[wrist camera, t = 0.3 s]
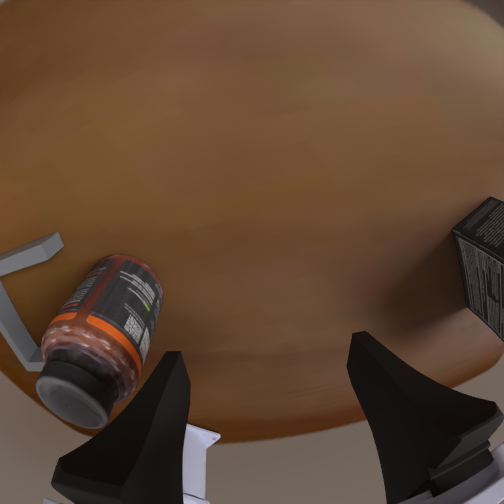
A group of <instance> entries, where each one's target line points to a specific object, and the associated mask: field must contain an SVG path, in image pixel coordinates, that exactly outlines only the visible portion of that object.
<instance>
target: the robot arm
mask: <svg viewBox="0 0 504 504" xmlns="http://www.w3.org/2000/svg"><path fill="white" fill-rule="evenodd" d="M346 367H347V370H348V374H349V377H350V380H351V384H352V387H353V389H354V391H355V393H356V396H357V398H358V400H359V402H360V405H361V407H362V409H363V411H364V414H365V416H366V418H367V420H368V423H369V425H370V428H371V430H372V433H373V437H374V440H375V444H376V447H377V451H378V455H379V459H380V464H381V469H382V473H383V479H384V485H385V491H386V499H387V504H498V503H499V502H501V501H502V500H503V499H504V442H503V443H502V444H500V445H499V446H498V447H496V448H495V449H494V450H492V451H491V452H490V451H489V450H488V448H489V447H490V442H489V441H488V439H489V438H490V436H491V435H492V434H493V433H494V432H495V431H496V430H497V428H498V427H499V426H500V425H501V423H502V421H503V419H504V415H503V413H502V412H501V410H500V409H499V407H498V406H497V404H496V403H495V402H493V401H489V400H484V399H480V398H476V397H472V396H469V395H466V394H463V393H460V392H458V391H455V390H453V389H450V388H448V387H446V386H444V385H442V384H439V383H437V382H436V381H434V380H432V379H430V378H428V377H427V376H425V375H423V374H421V373H420V372H418V371H417V370H415V369H414V368H412V367H411V366H409V365H408V364H407V363H405V362H404V361H402V360H401V359H400V358H398V357H397V356H396V355H395V354H393V353H392V352H391V351H389V350H388V349H387V348H386V347H385V346H383V345H382V344H381V343H380V342H378V341H377V340H376V339H375V338H374V337H372V336H371V335H370V334H369V333H367V332H366V331H362V332H357V333H353V334H352V339H351V345H350V351H349V356H348V361H347V366H346ZM190 386H191V383H190V380H189V377H188V374H187V370H186V367H185V364H184V361H183V357H182V354H181V351H167V352H166V353H165V354H164V356H163V357H162V359H161V360H160V362H159V363H158V365H157V366H156V368H155V369H154V371H153V372H152V374H151V375H150V377H149V378H148V380H147V381H146V382H145V384H144V385H143V387H142V388H141V389H140V391H139V392H138V393H137V394H136V396H135V397H134V398H133V399H132V401H131V402H130V403H129V404H128V405H127V406H126V408H125V409H124V410H123V411H122V412H121V413H120V414H119V415H118V416H117V417H116V418H115V419H114V420H113V421H112V422H111V423H110V424H109V425H108V426H106V427H105V428H104V429H103V430H102V431H101V432H99V433H98V434H97V435H96V436H94V437H93V438H91V439H90V440H89V441H87V442H86V443H84V444H83V445H81V446H80V447H78V448H77V449H75V450H73V451H71V452H70V453H68V454H66V455H64V456H62V457H60V458H59V460H58V462H57V465H56V468H55V471H54V474H53V478H52V481H51V485H52V487H53V488H54V489H55V490H56V491H58V492H59V493H60V494H62V495H63V496H65V497H66V498H68V499H69V500H71V501H72V502H74V503H75V504H210V502H209V501H205V471H206V449H207V448H208V447H209V446H210V445H212V444H213V443H214V442H216V441H217V440H218V439H219V438H220V434H219V433H216V432H212V431H209V430H206V429H202V428H199V427H196V426H193V425H190V424H187V420H188V414H189V407H190ZM43 504H62V503H59V502H57V501H54V500H51V499H49V498H44V501H43Z"/></svg>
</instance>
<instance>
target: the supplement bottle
mask: <svg viewBox="0 0 504 504" xmlns="http://www.w3.org/2000/svg"><path fill="white" fill-rule="evenodd" d="M162 303H163V289H162V286H161V283H160V281H159V279H158V277H157V275H156V274H155V273H154V271H153V270H152V269H151V268H150V267H149V266H148V265H146V264H145V263H144V262H142V261H141V260H139V259H137V258H134V257H131V256H127V255H112V256H108V257H106V258H104V259H102V260H101V261H100V262H98V263H97V265H95V266H94V267H93V268H92V270H91V271H90V272H89V273H88V275H87V276H86V277H85V278H84V280H83V281H82V282H81V283H80V284H79V286H78V287H77V288H76V289H75V291H74V292H73V293H72V295H71V296H70V297H69V299H68V300H67V301H66V303H65V304H64V305H63V306H62V308H61V309H60V310H59V312H58V313H57V315H56V316H55V317H54V319H53V320H52V322H51V323H50V324H49V326H48V327H47V329H46V330H45V332H44V335H43V337H42V342H41V353H42V357H43V361H44V363H45V365H44V367H43V370H42V372H41V374H40V376H39V377H38V379H37V381H36V391H37V393H38V395H39V397H40V399H41V400H42V402H43V403H44V404H45V405H46V406H47V407H48V408H49V409H50V410H51V411H52V412H54V413H55V414H56V415H57V416H59V417H60V418H62V419H64V420H66V421H67V422H70V423H72V424H74V425H76V426H80V427H84V428H88V429H99V428H101V427H103V426H105V425H106V424H107V422H108V420H109V416H110V413H111V410H112V409H113V404H118V403H121V402H123V401H125V400H127V399H128V398H129V397H131V395H132V394H133V393H134V392H135V390H136V388H137V385H138V382H139V378H140V375H141V372H142V368H143V365H144V361H145V358H146V354H147V351H148V348H149V345H150V341H151V338H152V335H153V332H154V329H155V325H156V323H157V319H158V316H159V313H160V310H161V306H162Z"/></svg>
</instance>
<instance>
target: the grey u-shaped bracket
mask: <svg viewBox="0 0 504 504" xmlns="http://www.w3.org/2000/svg"><path fill="white" fill-rule="evenodd" d="M62 247H64V245H63V242H62V240H61V237H60V235H59V232H56V233H54V234H51V235H48V236H46V237H43V238H41V239H38V240H36V241H33V242H30V243H28V244H26V245H23V246H21V247H18V248H16V249H13V250H11V251H9V252H6V253H4V254H2V255H0V276H2V275H5V274H8V273H11V272H13V271H16V270H19V269H22V268H25V267H28V266H31V265H34V264H37V263H40V262H43V261H46V260H48V259H49V258H51V257H52V256H53V255H54V254H55V253H56V252H58V251H59V250H60V249H61V248H62ZM0 331H1V333H2V334H3V336H4V338H5V339H6V341H7V342H8V344H9V345H10V347H11V348H12V350H13V351H14V353H15V354H16V356H17V357H18V359H19V360H20V362H21V363H22V364H23V366H24V367H25V369H26V370H27V371H42V370H43V367H44V365H45V363H44V361H43V357H42V353H41V347H37V345H36V344H35V342H34V340H33V339H32V337H31V336H30V334H29V332H28V331H27V329H26V327H25V326H24V324H23V322H22V321H21V319H20V317H19V315H18V314H17V312H16V310H15V308H14V306H13V304H12V303H11V301H10V299H9V297H8V295H7V293H6V291H5V289H4V287H3V285H2V283H1V281H0Z"/></svg>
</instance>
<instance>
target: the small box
mask: <svg viewBox="0 0 504 504" xmlns="http://www.w3.org/2000/svg"><path fill="white" fill-rule="evenodd" d="M453 235H454V239H455V243H456V247H457V252H458V257H459V261H460V267H461V272H462V277H463V283H464V289H465V296H466V303H467V308H469V309H470V310H471V311H472V312H473V313H474V314H476V315H477V316H478V317H479V318H480V319H481V320H482V321H483V322H484V323H485V324H486V325H488V326H489V328H491V329H492V330H493V331H494V332H495V333H496V334H497V336H498V337H499V338H500V339H501V340H502V341H503V342H504V202H503V201H501V200H498V199H496V198H494V197H490V198H489V199H487V200H486V201H485V202H484V203H483V204H482V205H480V206H479V207H478V208H477V209H476V210H475V211H473V212H472V213H471V214H470V215H469V216H468V217H466V218H465V219H464V220H463V221H462V222H460V223H459V224H458V225H457V226H456V227H454V229H453Z"/></svg>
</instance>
